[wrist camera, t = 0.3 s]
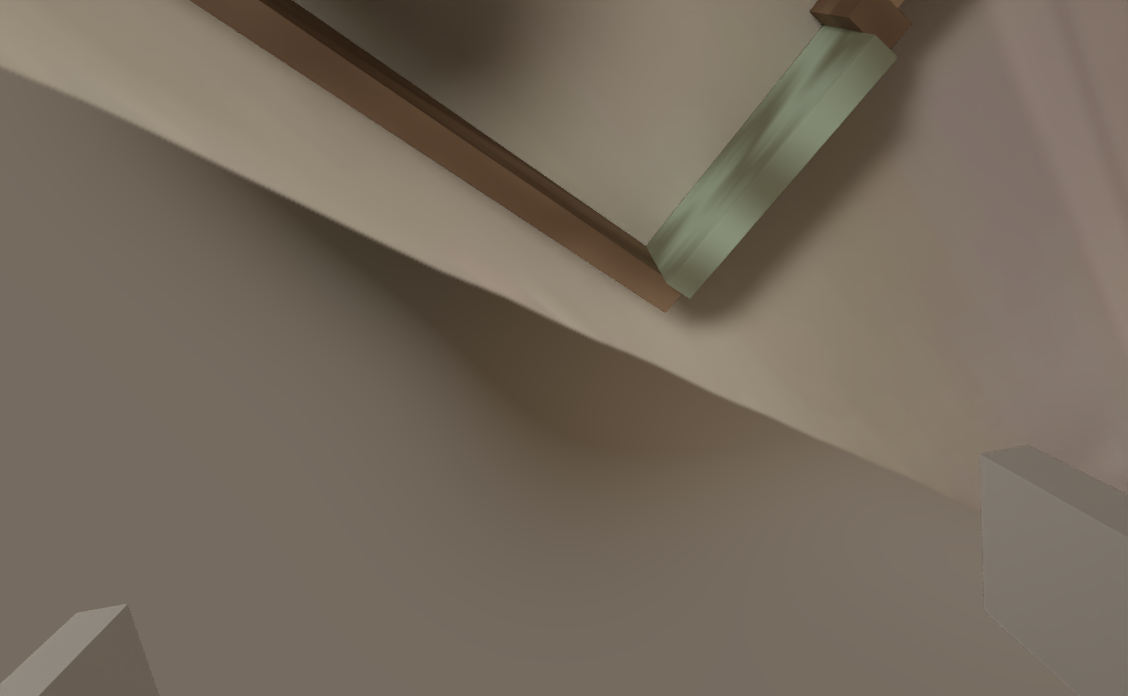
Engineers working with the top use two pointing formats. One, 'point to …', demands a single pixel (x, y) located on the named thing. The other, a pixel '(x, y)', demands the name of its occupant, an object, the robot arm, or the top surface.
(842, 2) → the wooden compartment tray
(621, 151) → the top surface
